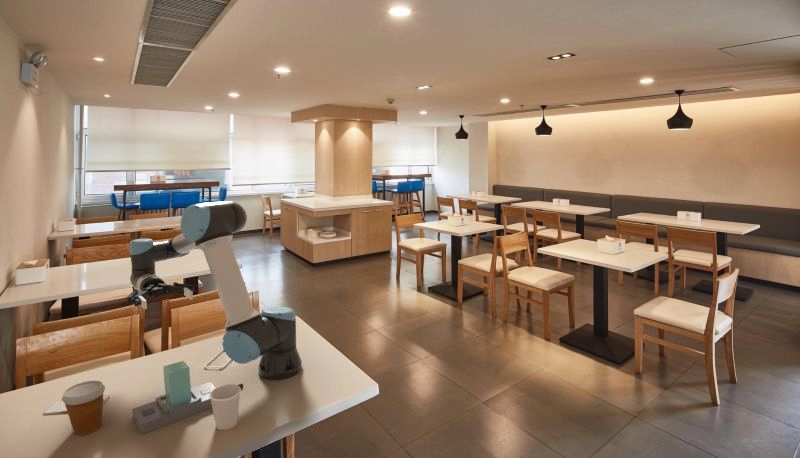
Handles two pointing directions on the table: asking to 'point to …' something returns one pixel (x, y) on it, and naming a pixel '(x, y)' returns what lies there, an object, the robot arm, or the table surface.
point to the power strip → (172, 409)
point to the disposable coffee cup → (85, 406)
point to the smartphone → (64, 406)
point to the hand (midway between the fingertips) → (169, 300)
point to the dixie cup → (225, 405)
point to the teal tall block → (177, 383)
